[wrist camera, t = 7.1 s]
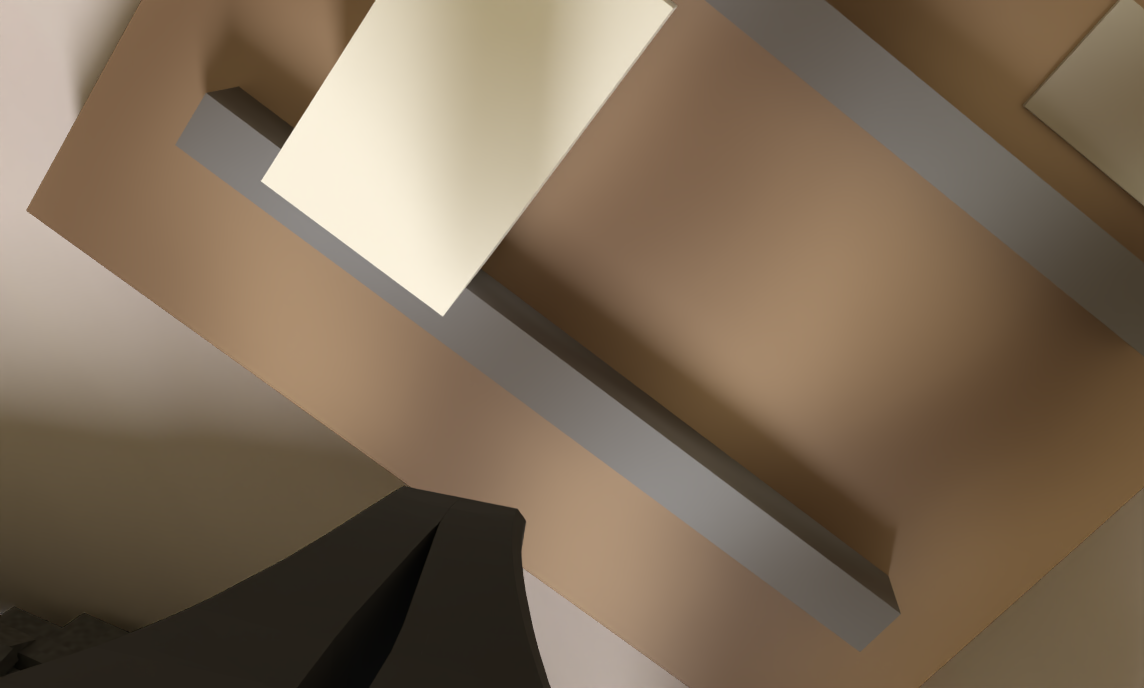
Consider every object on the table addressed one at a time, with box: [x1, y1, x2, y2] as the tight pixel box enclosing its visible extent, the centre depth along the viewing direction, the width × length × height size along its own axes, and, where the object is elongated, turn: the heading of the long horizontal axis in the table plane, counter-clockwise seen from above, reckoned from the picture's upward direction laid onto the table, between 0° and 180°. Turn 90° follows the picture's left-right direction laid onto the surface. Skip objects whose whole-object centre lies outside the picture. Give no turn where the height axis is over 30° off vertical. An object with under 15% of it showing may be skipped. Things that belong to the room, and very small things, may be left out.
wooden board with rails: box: [26, 0, 1144, 688], centre depth 17 cm, size 18×14×3 cm
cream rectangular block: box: [261, 0, 678, 316], centre depth 15 cm, size 3×5×3 cm, turn 143°
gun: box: [0, 607, 129, 677], centre depth 22 cm, size 4×20×10 cm, turn 77°
